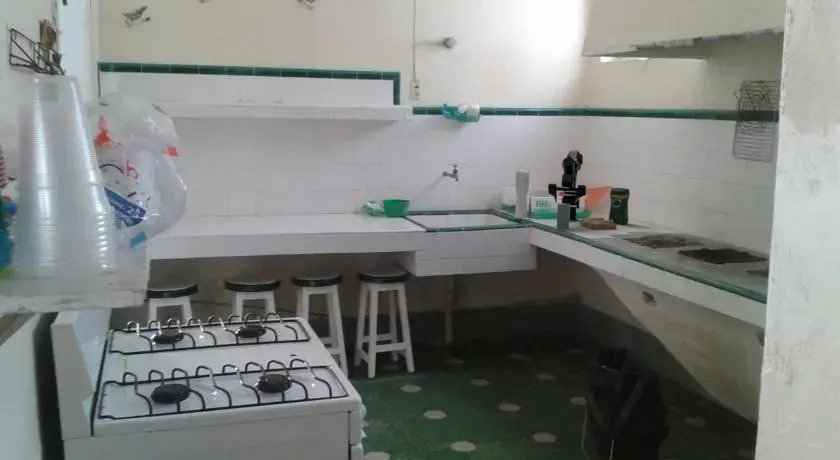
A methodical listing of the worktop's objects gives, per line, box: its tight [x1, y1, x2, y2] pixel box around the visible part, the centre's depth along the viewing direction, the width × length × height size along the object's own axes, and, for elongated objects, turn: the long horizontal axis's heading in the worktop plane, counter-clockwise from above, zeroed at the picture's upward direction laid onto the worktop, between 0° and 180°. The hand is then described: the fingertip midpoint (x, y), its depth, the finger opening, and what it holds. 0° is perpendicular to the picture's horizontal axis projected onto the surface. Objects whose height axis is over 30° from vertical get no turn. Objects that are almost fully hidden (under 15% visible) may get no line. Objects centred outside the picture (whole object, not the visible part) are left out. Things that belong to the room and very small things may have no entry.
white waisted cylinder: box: [513, 166, 532, 220], centre depth 403 cm, size 8×8×28 cm
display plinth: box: [579, 217, 617, 231], centre depth 381 cm, size 14×12×4 cm
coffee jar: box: [608, 187, 631, 225], centre depth 396 cm, size 10×8×19 cm
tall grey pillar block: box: [556, 202, 570, 230], centre depth 375 cm, size 5×6×12 cm
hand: (565, 202), depth 380 cm, fingers open, 9 cm apart
